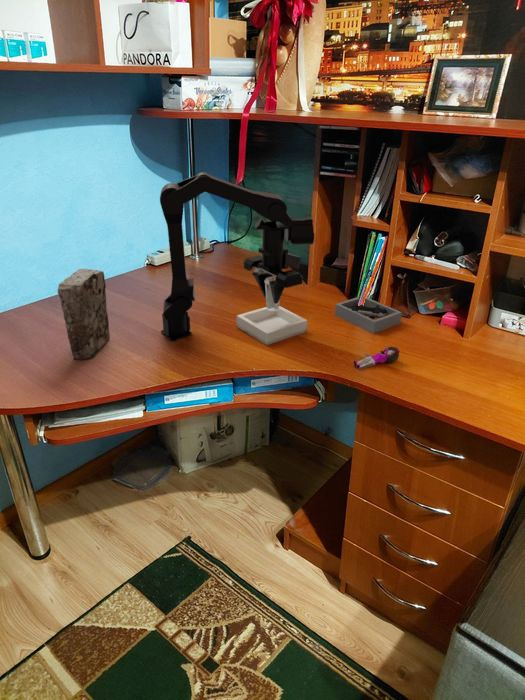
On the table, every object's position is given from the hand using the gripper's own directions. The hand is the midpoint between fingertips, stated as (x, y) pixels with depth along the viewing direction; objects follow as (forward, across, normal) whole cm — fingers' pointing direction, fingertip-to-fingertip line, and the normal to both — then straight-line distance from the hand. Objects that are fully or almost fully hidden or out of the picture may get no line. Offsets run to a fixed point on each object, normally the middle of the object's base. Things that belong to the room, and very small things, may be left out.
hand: (271, 300), depth 145 cm
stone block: (+9, +18, +45) cm, 49 cm away
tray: (+9, 0, 0) cm, 9 cm away
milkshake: (+3, 0, 0) cm, 3 cm away
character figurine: (+9, -31, -10) cm, 33 cm away
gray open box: (+8, -11, -27) cm, 31 cm away
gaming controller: (+8, -11, -27) cm, 30 cm away
